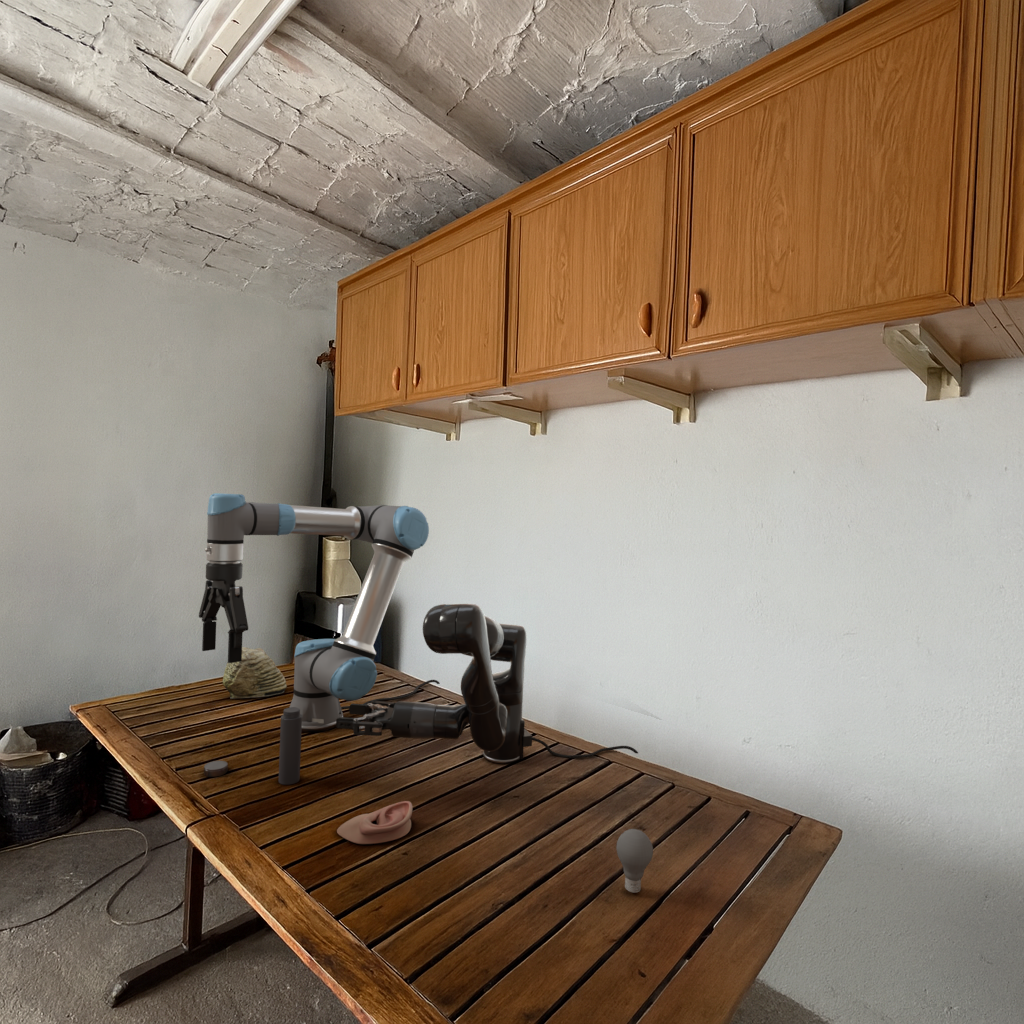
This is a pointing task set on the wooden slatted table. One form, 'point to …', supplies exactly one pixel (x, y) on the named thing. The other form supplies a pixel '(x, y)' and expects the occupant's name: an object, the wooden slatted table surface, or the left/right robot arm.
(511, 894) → the wooden slatted table surface
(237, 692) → the fossil
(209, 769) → the lid
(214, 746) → the wooden slatted table surface
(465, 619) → the right robot arm
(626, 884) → the light bulb
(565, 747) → the wooden slatted table surface
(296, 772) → the dark grey cylinder
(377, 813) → the anatomical model
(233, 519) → the left robot arm
